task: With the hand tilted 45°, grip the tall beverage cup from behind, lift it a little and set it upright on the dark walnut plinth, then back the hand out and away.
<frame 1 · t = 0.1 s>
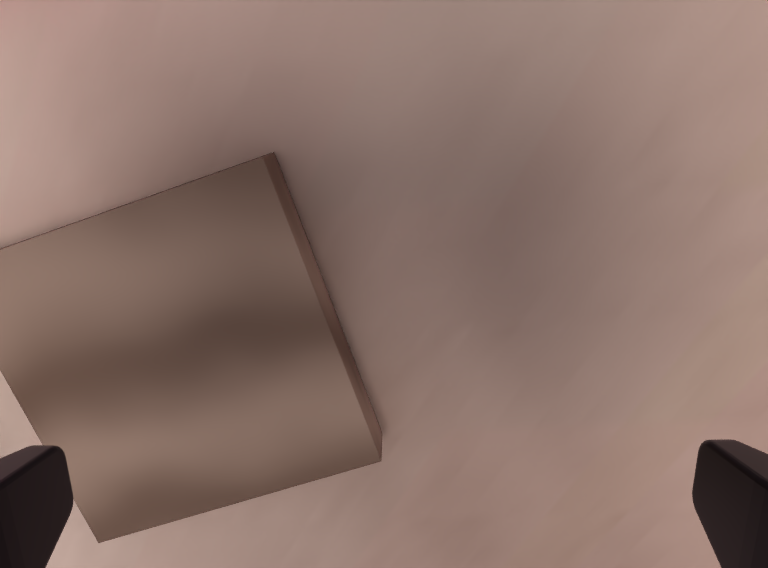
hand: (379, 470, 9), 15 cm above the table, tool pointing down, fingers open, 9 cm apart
walnut plinth: (189, 348, 24), on the table
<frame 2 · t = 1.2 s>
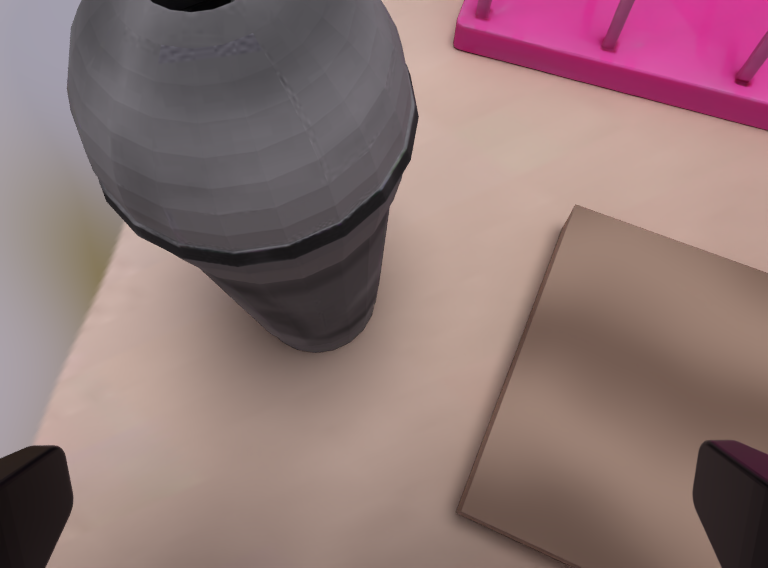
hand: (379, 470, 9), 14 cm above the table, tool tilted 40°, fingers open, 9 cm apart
beverage cup: (319, 299, 24), on the table
walnut plinth: (670, 422, 22), on the table
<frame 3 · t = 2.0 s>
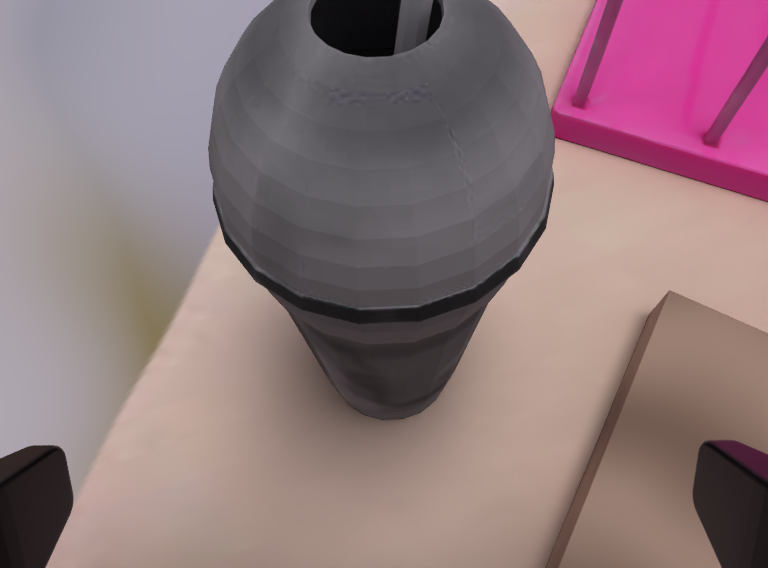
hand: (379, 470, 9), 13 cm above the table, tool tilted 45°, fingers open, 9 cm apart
beverage cup: (390, 363, 23), on the table
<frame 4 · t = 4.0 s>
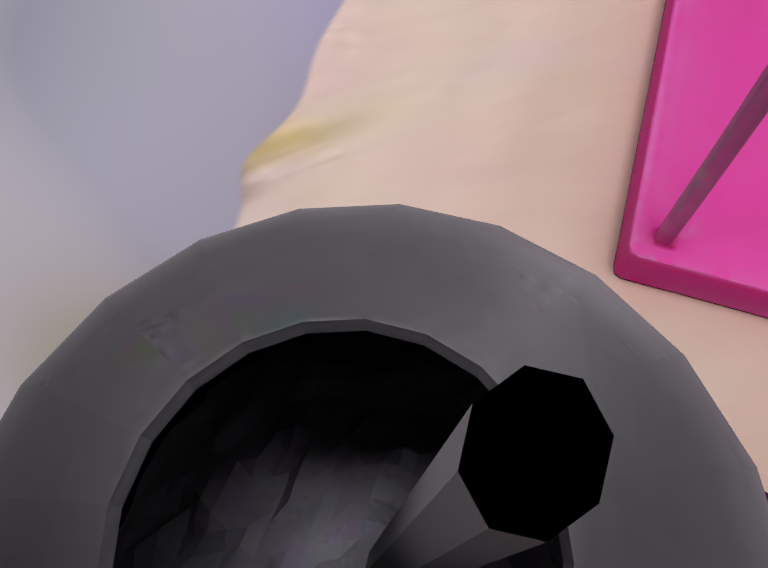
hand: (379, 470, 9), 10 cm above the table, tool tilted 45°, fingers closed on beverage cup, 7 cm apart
when the fingers open (12 cm above the table, at t = 7.9 s): beverage cup stays where it is, resting on walnut plinth.
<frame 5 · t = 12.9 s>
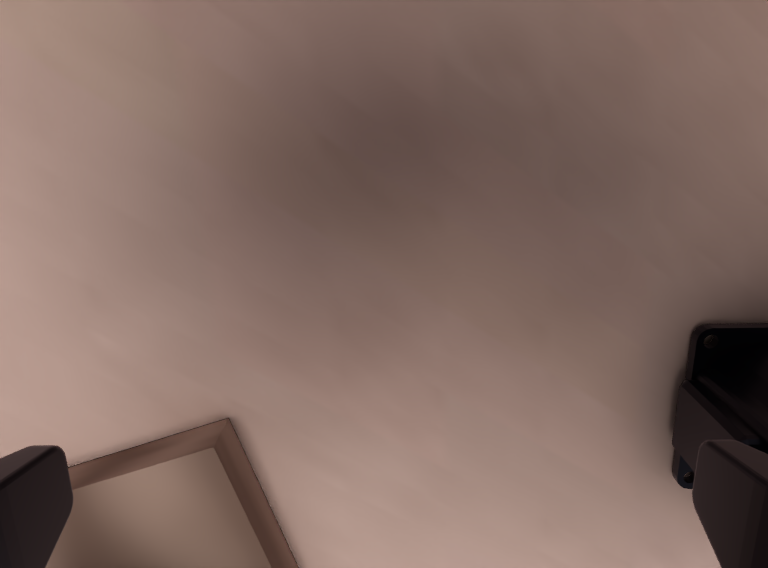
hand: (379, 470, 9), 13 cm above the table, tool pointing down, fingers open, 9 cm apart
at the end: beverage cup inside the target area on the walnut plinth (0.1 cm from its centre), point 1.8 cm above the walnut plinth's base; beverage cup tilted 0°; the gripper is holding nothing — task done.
